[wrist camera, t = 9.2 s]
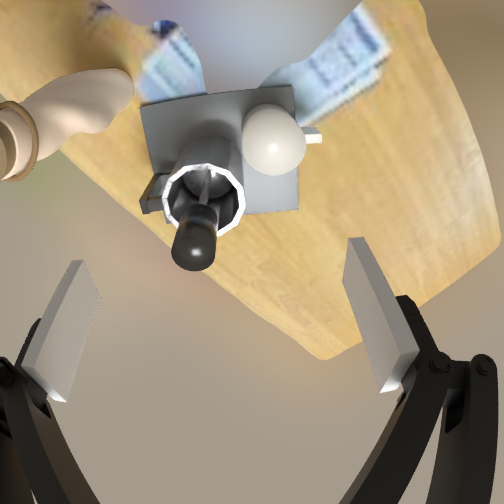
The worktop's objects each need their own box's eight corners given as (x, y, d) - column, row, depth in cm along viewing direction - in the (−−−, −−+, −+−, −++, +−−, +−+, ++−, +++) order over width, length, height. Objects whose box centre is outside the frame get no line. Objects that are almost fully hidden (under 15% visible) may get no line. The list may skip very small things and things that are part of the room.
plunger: (179, 152, 42) (143, 224, 26) (231, 145, 41) (228, 213, 26) (188, 198, 46) (164, 287, 30) (238, 193, 46) (238, 281, 30)
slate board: (141, 106, 40) (139, 107, 40) (291, 86, 40) (293, 86, 39) (167, 220, 52) (166, 223, 51) (297, 206, 52) (298, 209, 51)
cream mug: (238, 105, 41) (238, 118, 33) (309, 100, 40) (325, 112, 33) (244, 155, 45) (245, 178, 38) (310, 149, 45) (325, 171, 38)
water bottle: (108, 137, 43) (3, 237, 20) (70, 104, 39) (-57, 178, 16) (149, 88, 39) (45, 145, 16) (108, 53, 35) (-26, 79, 12)
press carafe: (153, 145, 43) (128, 175, 34) (239, 132, 43) (239, 159, 33) (166, 201, 49) (149, 243, 39) (245, 191, 49) (248, 232, 39)
